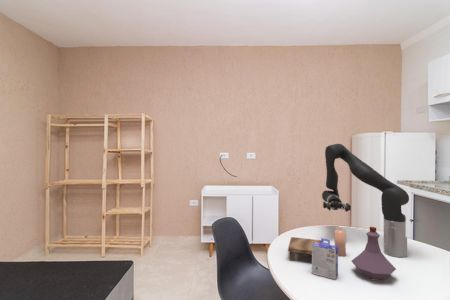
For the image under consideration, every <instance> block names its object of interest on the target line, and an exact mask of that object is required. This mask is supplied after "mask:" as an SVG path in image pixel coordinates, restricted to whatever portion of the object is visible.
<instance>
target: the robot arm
mask: <svg viewBox="0 0 450 300" xmlns="http://www.w3.org/2000/svg"><path fill="white" fill-rule="evenodd" d="M324 156H325V168H326V181H325V187H326V188H327V189H328V190H323V191H322V193H321V198H322V200H323V201H322V207H323V208H324V209H327V210H328V211H331V210H333V211H338V210H341V211H345V212H347V213H348V212H349V211H351V210H352V208H351V207H352V206H351V205H350V203H348V202H346V203H343V201H342V199H340V194H339V188H338V185H339V184H338V183H339V174H338V172H337V170H336V167H335V162H336V160H337V159H341V160H342V161H344V162H345V163H346V164H347V165H348V167H349V170H350V172H351V173H352V175H353V176H354V177H355V178H357V179H358V180H359V181H361V182H363V183H364V184H366V185H368V186H370V187H373V188H375V189H377V190H379V191H380V192H381V198H380V199H381V212H382V215H383V253H384V254H386V255H388V256H392V257H395V258H407V257H408V237H407V235H406V234H407V233H406V232H407V231H406V230H407V229H406V228H407V227H406V225H407V223H406V220H407V219H406V215H405V214H404V213H402V206H404V205H407V204H408V203H409V202H410V196H409V194H408V192H407V190H405V189H403V188H402V187H400V186H399V185H397V184H395V183H393V182H392V181H390V179H389V180H388V179H387V178H386V177H385V176H384V175H382V174H380V173H379V172H378V171H377V170H375V169H374V168H372V167H371V166H370V165H369V164H367V163H366V162H364V161H362V160H361V159H360V158H358V157H357V155H355V154H353V153H352V152H351V151H350V150H349V149H348V148H347V147H346V146H344V145H343V144H342V143H334V144H329V145H328V146H326V147H325V149H324Z"/></svg>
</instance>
